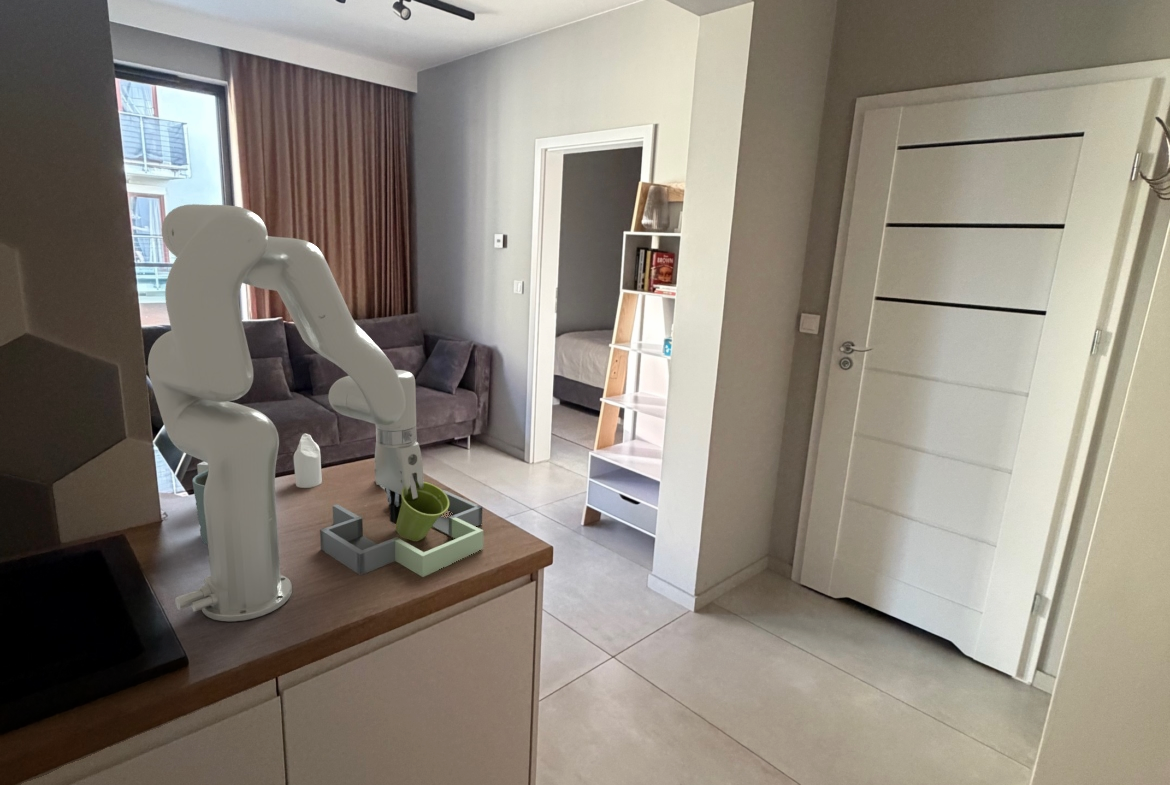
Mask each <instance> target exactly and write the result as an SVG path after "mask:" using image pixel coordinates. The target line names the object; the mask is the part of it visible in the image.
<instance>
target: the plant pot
mask: <svg viewBox="0 0 1170 785" xmlns="http://www.w3.org/2000/svg"><path fill="white" fill-rule="evenodd" d="M415 484H416V490H417V495H418V499H417V500H414V501H407V495H408V493H407V495H404V490H405V488H403V489H402V492H401V497H402V504H401V508H400V512H399V515H398V519H397V523H396V524H395V530H396V532H397V534H398V535H399V536H400V537H401V538H403V539H406V540H410V541H412V542H418V541H421V540H423V539H425V537H426V536H427V534H428V533H429V531H430V530H431V529H432V526H433V524H434V523H435V522H436V520H437V519H438V517H440V516H441V515H442V514H444V513H445V512H446V511H447V510H448V508H449V499H448V497H447V495H446V494H445V493H444V492H443V491H442V490H441V489H442V488H440V487H438V486H436V485H435V484H432V483H430V482H426V481H424V487H423V489H422V490H419V488H417V487H419V485H418V483H417V482H415Z"/></svg>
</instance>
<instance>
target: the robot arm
mask: <svg viewBox="0 0 1170 785" xmlns="http://www.w3.org/2000/svg"><path fill="white" fill-rule="evenodd" d="M268 234H269V233H268V230H267V227H266V225H265V223H264V221H263V220H262V218H261V217H260V216H259V215H258V214H256V213H254V212H253V211H252V210H251V209H247V208H246V207H245V208H244V207H240V206H235V205H230V204H229V205H228V204H227V205H226V204H196V203H195V204H194V203H193V204H184V205H180V206H177V207H175V208H174V209H172V210H170V211H169V212H168V213H167V215H166V216H165V217H164V219H163V221H162V224H161V237H162V240H163V242H164V244H165V246H166V248H167V249H168V251H170V253H171V254H172V255H173V256H175V257H176V258H175V259H174V262H173V264H172V265H171V268H170V270H169V273H168V275H167V279H166V284H165V291H164V292H165V294H164V295H165V305H166V310H167V316H168V319H169V324H170V329H171V330H169V331H167V332H165V333H163V334H162V335H161V336H159V337H158V338H157V339H156V340H155V342H153V344H152V346H151V349H150V351H149V354H148V359H147V370H148V375H149V380H150V382H151V387H152V390H153V393H154V396H155V399H156V400H155V401H156V403H157V406H158V410H159V413H160V414H159V415H160V416H161V419H162V422H163V426H164V429H165V431H166V434H167V436H168V438H169V440H170V441H171V443H172V444H173V445H174V447H176V448H177V449H178V450H179V451H181V452H182V453H184V454H186V455H189V456H191V457H193V458H196V459H198V460H200V461H201V462H206V463H208V466H209V472H208V477H207V480H206V484H205V488H204V512H205V518H206V529H207V540H208V545H207V549H208V560H209V571H210V573H209V574H210V576H208V577H204V578H203V582H204V583H203V584H204V585H202V586H199V587H198V588H197V590H195V591H192V592H187V593H185V594H182V595H179V596H177V597H175V600H174V602H175V606H176V608H177V610H178V611H181V610H183V609H186V608H188V607H191V608H192V611H193V612H197V611H200V610H201V611H202V613H203V614H204V615H205V616H206V617H208V618H210V619H212V620H214V621H218V622H219V621H220V622H238V621H239V622H241V621H248V620H252V619H256V618H259V617H262V616H265V615H268V614H269V613H272V612H273V611H275V610H277V609H279V608H281V607H282V606H283V605H284V604H285V603H286V602H287V601H288V600H289V599H290V598H291V596H292V593H293V586H292V582H291V580H290V579H289V578H288V577H286V576H285V575H282V574H281V565H280V564H281V562H280V548H279V531H278V529H279V527H278V515H277V514H278V513H277V503H276V501H277V500H276V467H277V466H276V465H277V459H278V454H279V453H278V452H279V445H280V438H279V433H278V430H277V427H276V426H275V424H274V423H273V421H272V420H271V419H270V418H269V417H268V416H267V415H265V414H264V413H263V412H261V411H260V410H257V409H254V408H252V407H249V406H246V405H243V404H240V403H237V402H234V401H235V400H238V399H240V398H242V397H244V396H245V395H246V394H247V393H248V392H249V391H250V389H251V387H252V385H253V382H254V366H253V361H252V358H251V353H250V350H249V346H248V340H247V337H246V332H245V328H244V324H243V320H242V314H241V308H240V300H239V299H240V292H241V291H240V290H241V287H242V284H245V285H248V286H251V287H254V288H258V289H263V290H269V291H275V292H277V293H278V295H279V297H280V299H281V301H282V303H283V304H284V306H285V308H286V309H287V311H288V313H289V315H290V317H291V319H292V321H293V323H294V325H295V328H296V329H297V331H298V333H299V335H300V337H301V338H302V341H304V343H305V344H306V345H307V346H309V347H310V348H311V350H313V351H315V352H316V353H317V354H318V355H320V356H321V357H323V358H325V359H327V360H328V361H330V362H332V363H333V364H335V365H336V366H337V367H339V368H340V369H341V370H342V371H344V372H345V373H346V374H347V375H346V376H343V377H341V378H339V379H337V380H336V381H335V382H333V383H332V385H331V386H330V389H329V391H328V401H329V404H330V406H331V408H332V409H333V410H334V411H336V412H337V413H339V414H340V415H341V416H342V415H343V416H345V417H348V418H352V419H357V420H361V421H364V422H368V423H370V424H374V425H375V440H376V442H375V449H374V476H375V479H376V482H377V483H378V484H379V485H378V486H379V487H380V488H381V489H383V490H384V492H385V493H386V498H387V502H388V504H389V503H391V504H390V506H389V521H390V522H391V523H393V524H395V525H396V523H397V519H398V515H399V512H400V508H401V504H402V497H401V492H402V489H403V488H405V490H404V495H407V493H408V495H407V501H414V500H417V499H418V495H417V490H416V484H415V482H417V483H418V485H419V487H417V488H419V490H422V489H423V487H424V482H425V481H424V465H423V459H422V458H423V457H422V451H421V448H420V443H419V442H418V440H417V438H418V436H417V434H418V433H417V401H416V399H417V397H416V396H417V395H416V393H417V392H416V379H415V376H414V374H413V373H412V372H410V371H408V370H404V369H395V367H394V365H393V364H392V362H391V360H390V359H389V358H388V357H387V355H386V354H385V352H384V351H383V350H382V349H381V348H380V347H379V346H378V345H377V344H376V343H375V341H374V340H372V338H371V337H370V336H369V335H368V334H367V333H366V332H365V331H364V330H363V329H362V328H361V327H360V326H359V325H358V324H357V322H356V321H355V320H354V318H353V317H352V314H351V313H350V310H349V307H348V305H347V304H346V301H345V299H344V297H343V294H342V292H341V291H340V288H339V286H338V284H337V282H336V280H335V277H334V275H333V273H332V271H331V269H330V266H329V264H328V262H327V260H326V258H325V256H324V254H323V252H322V251H321V250H320V249H319V247H317V246H316V245H315V244H313V243H312V242H309V241H307V240H304V239H300V238H299V239H298V238H293V237H281V236H280V237H279V236H269V235H268ZM232 401H233V402H232ZM376 482H375V483H376Z"/></svg>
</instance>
